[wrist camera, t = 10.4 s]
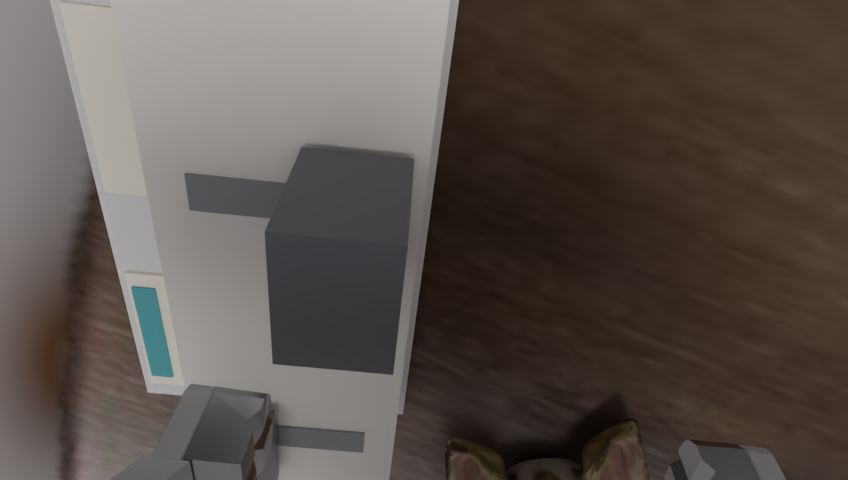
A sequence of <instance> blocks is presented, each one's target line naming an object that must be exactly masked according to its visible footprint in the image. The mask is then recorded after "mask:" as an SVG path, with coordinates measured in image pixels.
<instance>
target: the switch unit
mask: <svg viewBox="0 0 848 480" xmlns="http://www.w3.org/2000/svg"><path fill="white" fill-rule="evenodd" d="M50 4H51V8H52V11H53V16H54V20H55V24H56V27H57V32H58V36H59V40H60V43H61V47H62V52H63V56H64V60H65V63H66V68H67V72H68V75H69V79H70V84H71V87H72V91H73V96H74V99H75V103H76V108H77V112H78V115H79V120H80V124H81V127H82V131H83V135H84V139H85V143H86V147H87V151H88V155H89V159H90V163H91V167H92V171H93V175H94V179H95V183H96V187H97V191H98V195H99V199H100V203H101V207H102V211H103V215H104V219H105V223H106V227H107V231H108V235H109V239H110V243H111V247H112V251H113V255H114V259H115V263H116V267H117V271H118V275H119V279H120V283H121V287H122V291H123V295H124V299H125V303H126V307H127V311H128V315H129V319H130V323H131V327H132V331H133V335H134V339H135V343H136V347H137V351H138V355H139V359H140V363H141V367H142V371H143V375H144V379H145V383H146V387H147V391H148V393H160V394H171V395H183V393H184V391H185V390H186V389H187V388H188V387H189V385H190V384H199V385H207V386H215V387H223V388H230V389H238V390H245V391H252V392H259V393H266V394H270V396H271V409H270V410H275V413H276V430H277V446H278V462H279V475H278V479H277V480H389V478H390V470H391V463H392V455H393V447H394V439H395V431H396V423H397V416H398V414H401V415H403V410H404V402H405V395H406V388H407V380H408V373H409V365H410V358H411V351H412V343H413V336H414V329H415V321H416V314H417V307H418V299H419V292H420V284H421V277H422V270H423V262H424V255H425V248H426V240H427V233H428V225H429V218H430V211H431V203H432V196H433V189H434V181H435V174H436V166H437V159H438V152H439V144H440V137H441V130H442V122H443V115H444V108H445V100H446V93H447V85H448V78H449V71H450V63H451V56H452V49H453V41H454V34H455V26H456V19H457V12H458V4H459V0H50ZM301 147H308V148H318V149H327V150H336V151H346V152H355V153H364V154H374V155H383V156H393V157H402V158H411V159H414V170H413V184H412V197H411V211H410V224H409V237H408V249H407V258H406V267H405V275H404V284H403V293H402V302H401V311H400V319H399V328H398V337H397V346H396V355H395V363H394V372H393V375H388V374H377V373H366V372H355V371H344V370H333V369H322V368H311V367H299V366H288V365H277V364H273V362H272V345H271V329H270V313H269V296H268V280H267V264H266V247H265V230H266V227H267V225H268V223H269V220H270V218H271V216H272V214H273V211H274V209H275V207H276V204H277V202H278V200H279V198H280V195H281V193H282V191H283V188H284V186H285V184H286V182H287V179H288V177H289V175H290V172H291V170H292V168H293V166H294V163H295V161H296V159H297V156H298V154H299V152H300V150H301Z"/></svg>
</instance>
